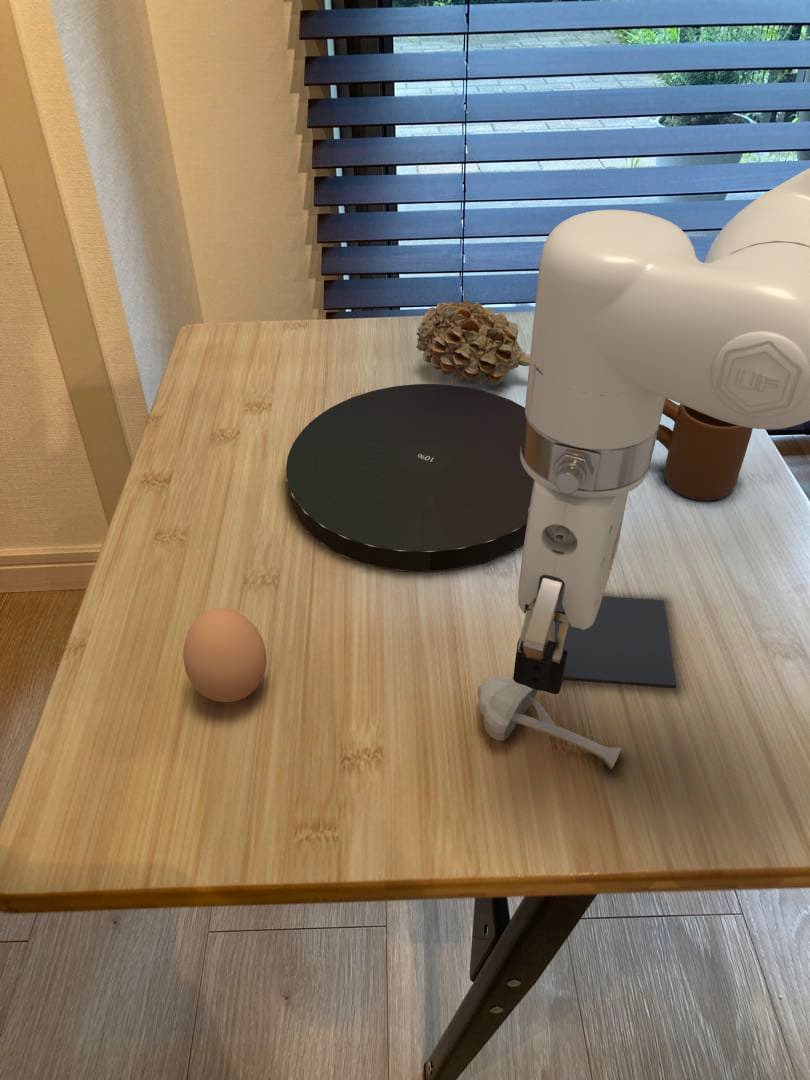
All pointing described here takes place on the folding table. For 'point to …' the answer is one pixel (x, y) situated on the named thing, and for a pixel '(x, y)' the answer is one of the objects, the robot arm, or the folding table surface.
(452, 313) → the pine cone
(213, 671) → the egg
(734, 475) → the mug
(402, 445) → the disc
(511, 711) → the mushroom
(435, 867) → the folding table surface
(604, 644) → the coaster
